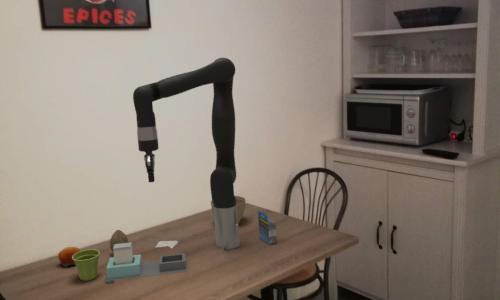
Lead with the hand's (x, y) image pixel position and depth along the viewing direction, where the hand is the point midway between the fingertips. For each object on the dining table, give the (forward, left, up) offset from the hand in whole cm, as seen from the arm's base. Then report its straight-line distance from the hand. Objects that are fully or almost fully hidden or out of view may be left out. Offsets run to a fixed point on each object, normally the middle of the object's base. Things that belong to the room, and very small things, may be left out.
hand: (151, 181), depth 180 cm
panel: (+3, +18, -29) cm, 34 cm away
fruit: (+33, +3, -29) cm, 44 cm away
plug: (+11, +18, -28) cm, 35 cm away
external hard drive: (-3, -2, -30) cm, 30 cm away
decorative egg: (+15, -2, -29) cm, 33 cm away
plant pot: (+24, +17, -29) cm, 41 cm away
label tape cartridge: (-45, +1, -29) cm, 54 cm away
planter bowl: (-32, -25, -29) cm, 50 cm away
